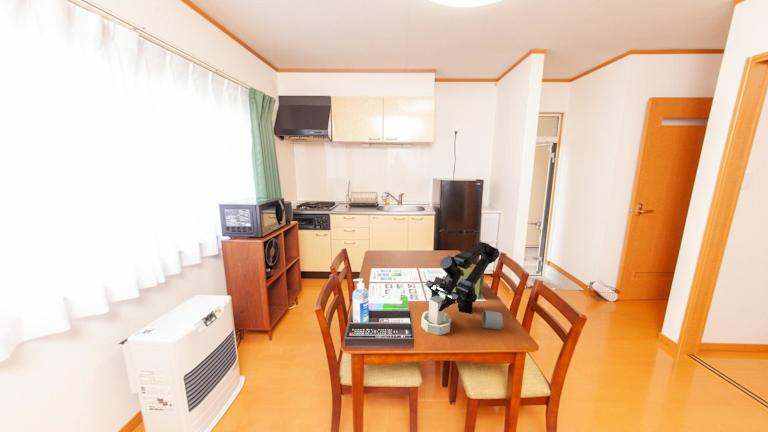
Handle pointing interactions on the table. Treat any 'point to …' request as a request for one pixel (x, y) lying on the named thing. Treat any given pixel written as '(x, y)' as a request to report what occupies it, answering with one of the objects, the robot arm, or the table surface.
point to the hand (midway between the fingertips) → (434, 308)
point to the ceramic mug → (492, 320)
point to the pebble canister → (436, 310)
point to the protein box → (478, 285)
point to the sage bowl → (434, 328)
